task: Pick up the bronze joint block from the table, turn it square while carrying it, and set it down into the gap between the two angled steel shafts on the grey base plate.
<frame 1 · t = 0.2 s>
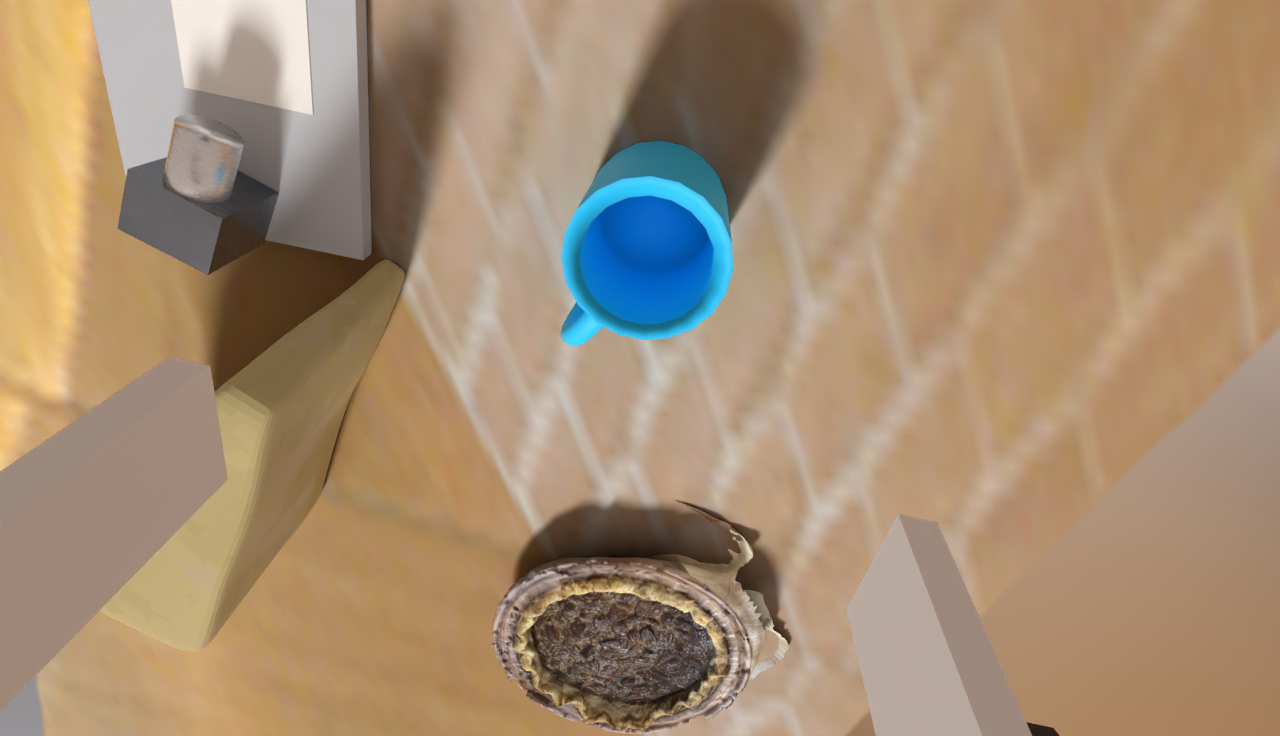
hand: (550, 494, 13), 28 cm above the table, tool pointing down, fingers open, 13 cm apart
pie: (623, 610, 56), on the table
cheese: (325, 372, 46), on the table
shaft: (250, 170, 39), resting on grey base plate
grey base plate: (236, 14, 34), on the table
mug: (637, 236, 39), on the table
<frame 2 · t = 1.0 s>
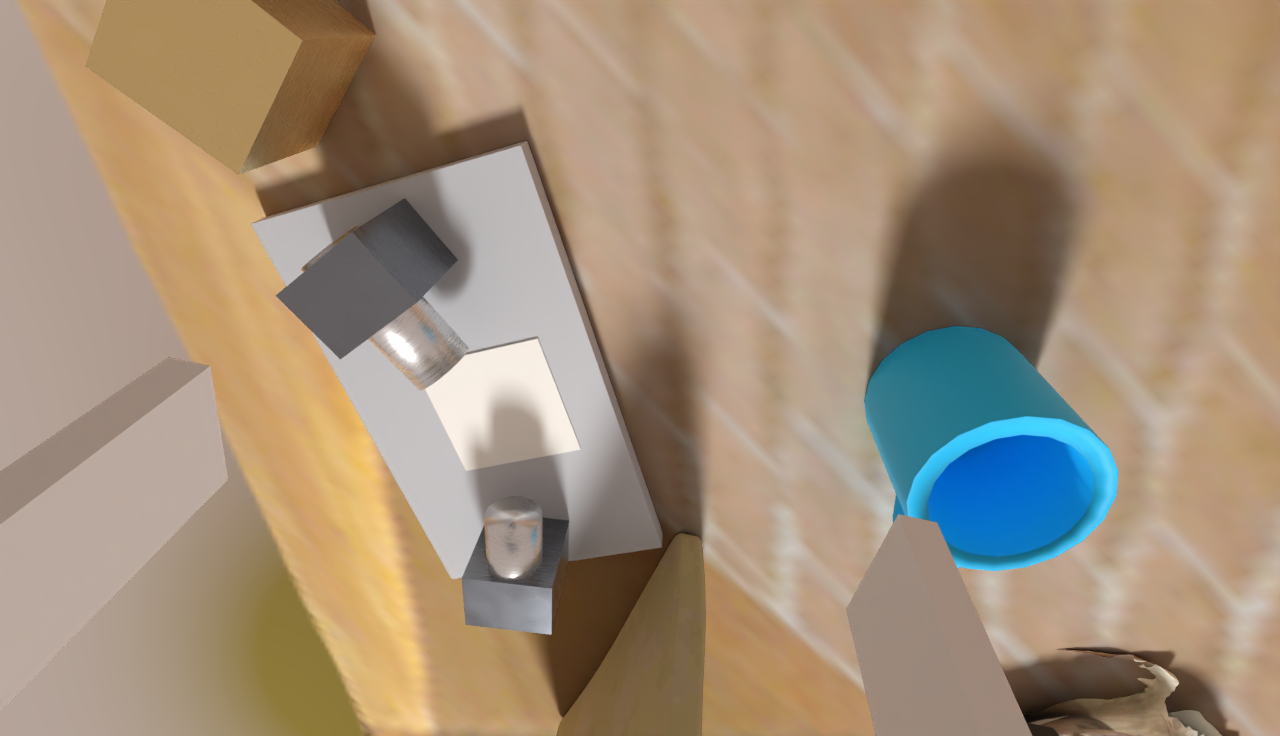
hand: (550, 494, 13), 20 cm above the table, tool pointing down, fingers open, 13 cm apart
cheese: (648, 641, 45), on the table
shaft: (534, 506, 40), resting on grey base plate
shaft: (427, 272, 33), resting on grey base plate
grey base plate: (485, 392, 36), on the table
joint block: (285, 45, 28), on the table
mug: (928, 423, 35), on the table
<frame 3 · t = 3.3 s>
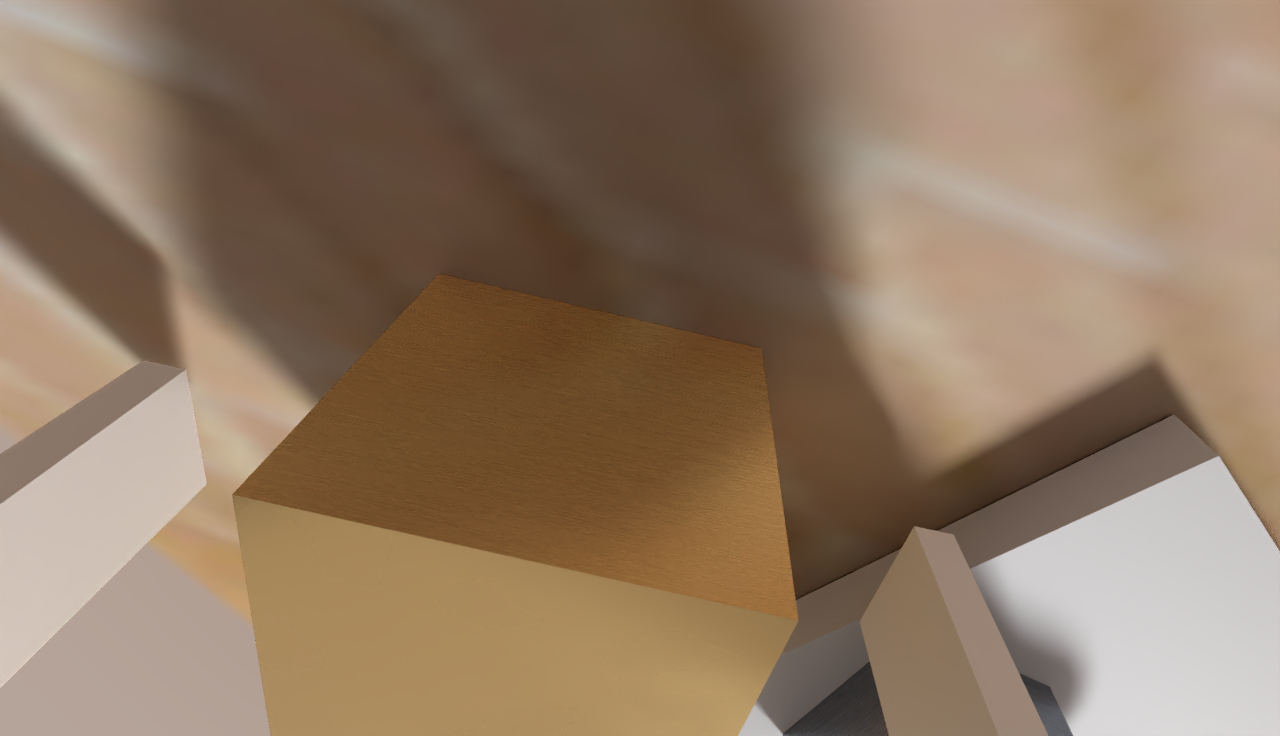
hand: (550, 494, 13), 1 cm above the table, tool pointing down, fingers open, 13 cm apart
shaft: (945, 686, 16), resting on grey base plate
joint block: (576, 437, 13), on the table
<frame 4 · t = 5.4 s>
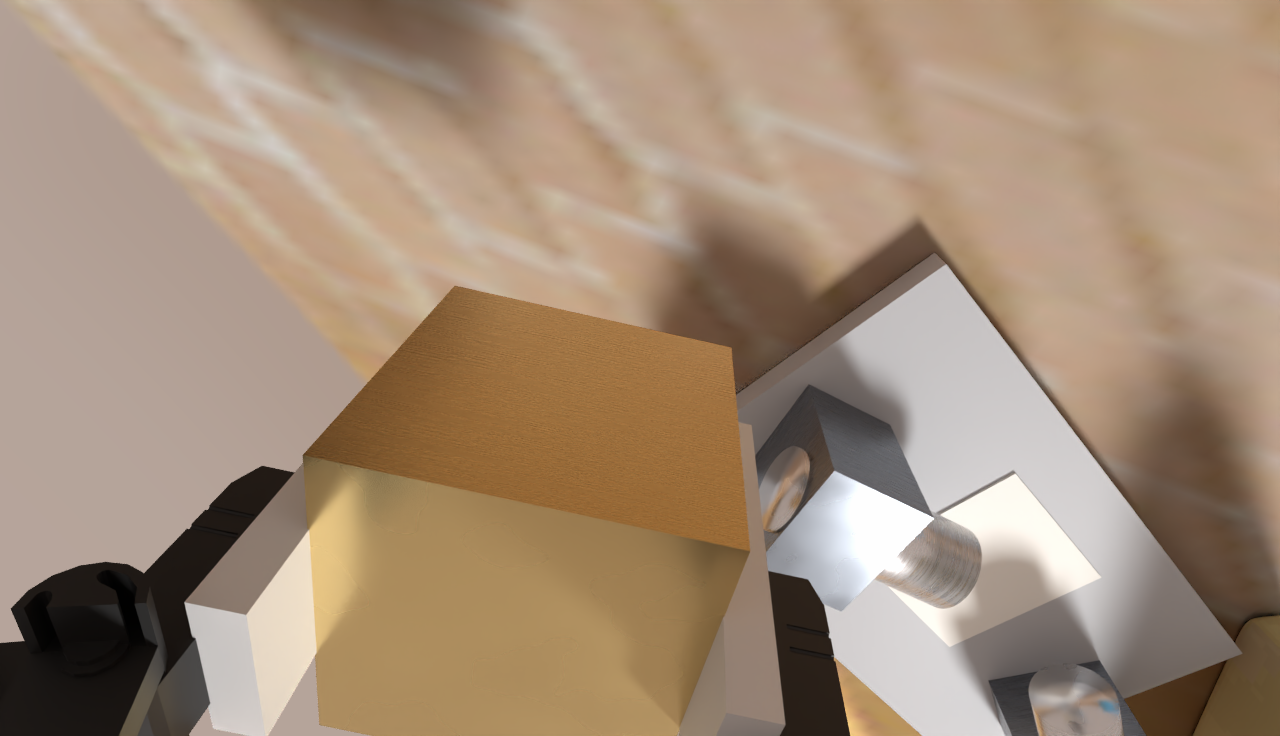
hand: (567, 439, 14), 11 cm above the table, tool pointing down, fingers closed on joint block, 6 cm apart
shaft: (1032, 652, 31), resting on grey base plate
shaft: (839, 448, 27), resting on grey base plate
grey base plate: (941, 549, 29), on the table
joint block: (572, 430, 15), point 10 cm above the table, touching gripper
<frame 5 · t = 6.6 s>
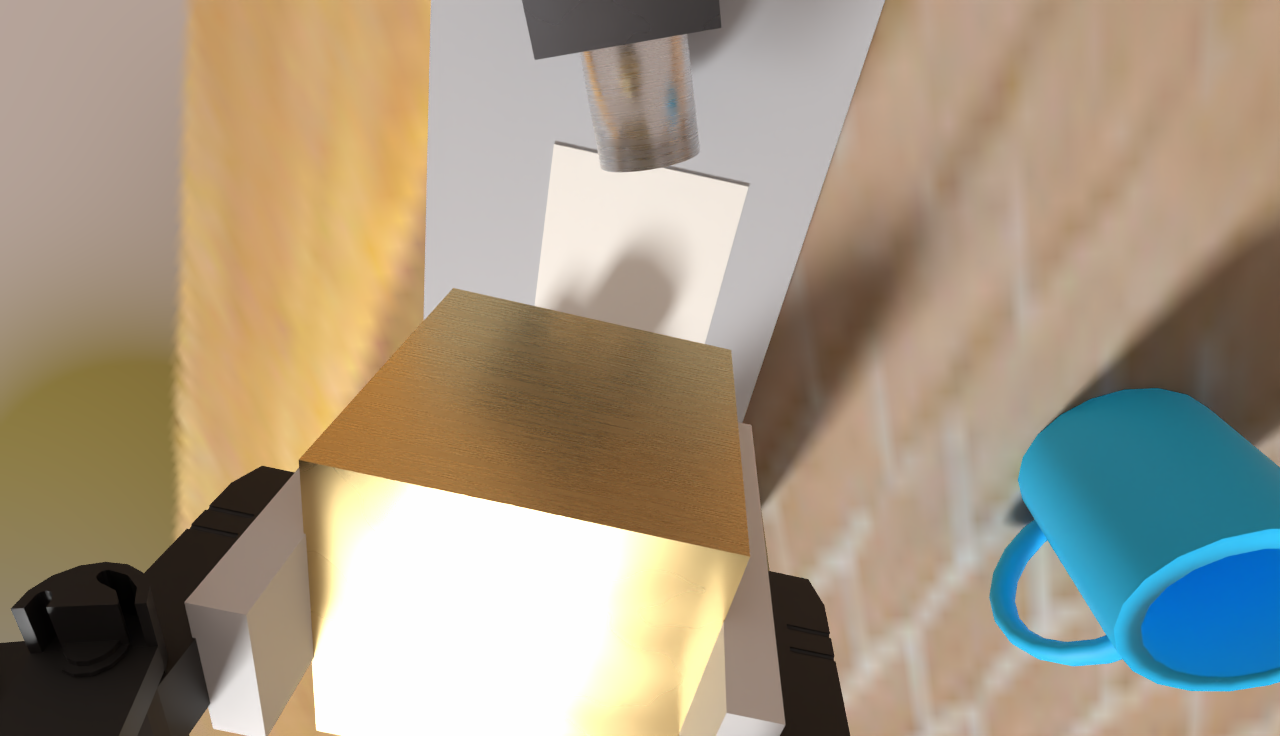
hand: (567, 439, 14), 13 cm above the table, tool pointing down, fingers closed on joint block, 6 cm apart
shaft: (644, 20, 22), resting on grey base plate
grey base plate: (613, 228, 25), on the table
joint block: (571, 433, 15), point 12 cm above the table, touching gripper
mug: (1075, 486, 30), on the table
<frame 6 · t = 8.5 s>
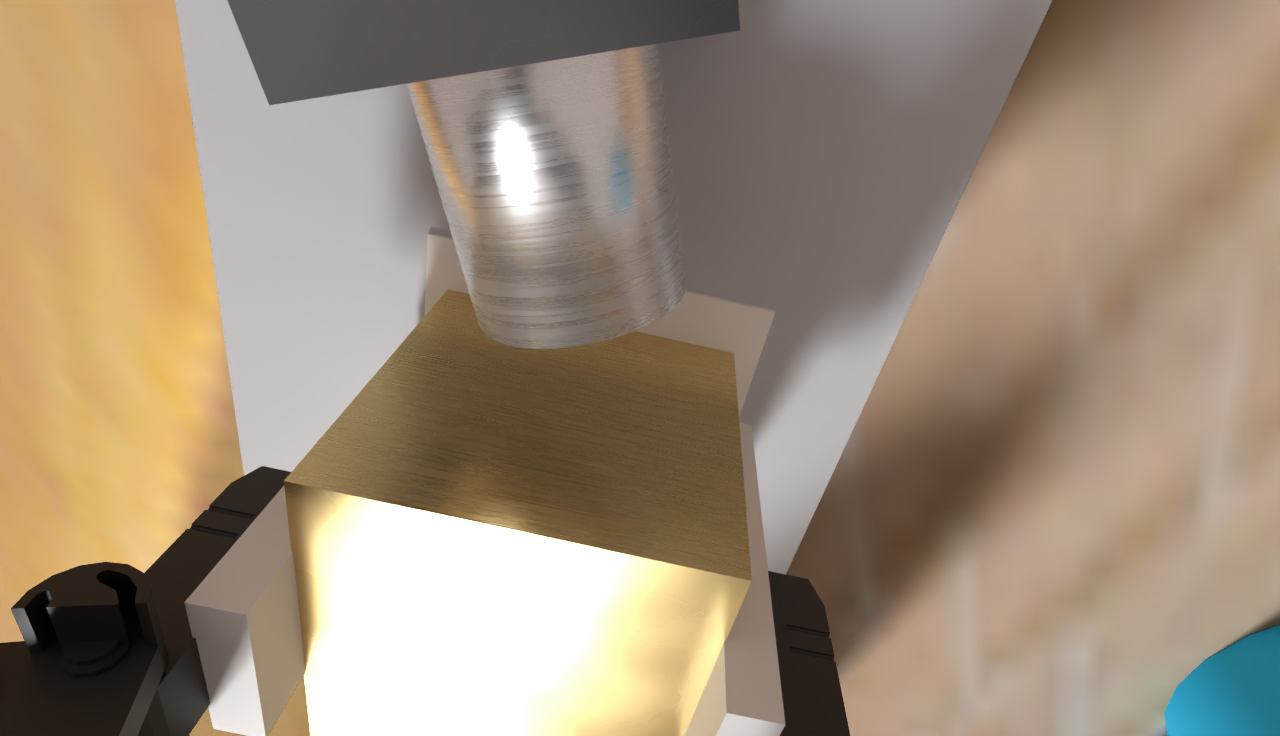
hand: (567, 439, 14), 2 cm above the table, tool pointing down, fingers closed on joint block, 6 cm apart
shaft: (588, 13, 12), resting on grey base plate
grey base plate: (547, 358, 15), on the table
joint block: (570, 436, 15), point 1 cm above the table, touching grey base plate, gripper
mug: (1247, 720, 20), on the table
when the fingers open (2 cm above the table, at t = 8.5 s): joint block stays where it is, resting on grey base plate.
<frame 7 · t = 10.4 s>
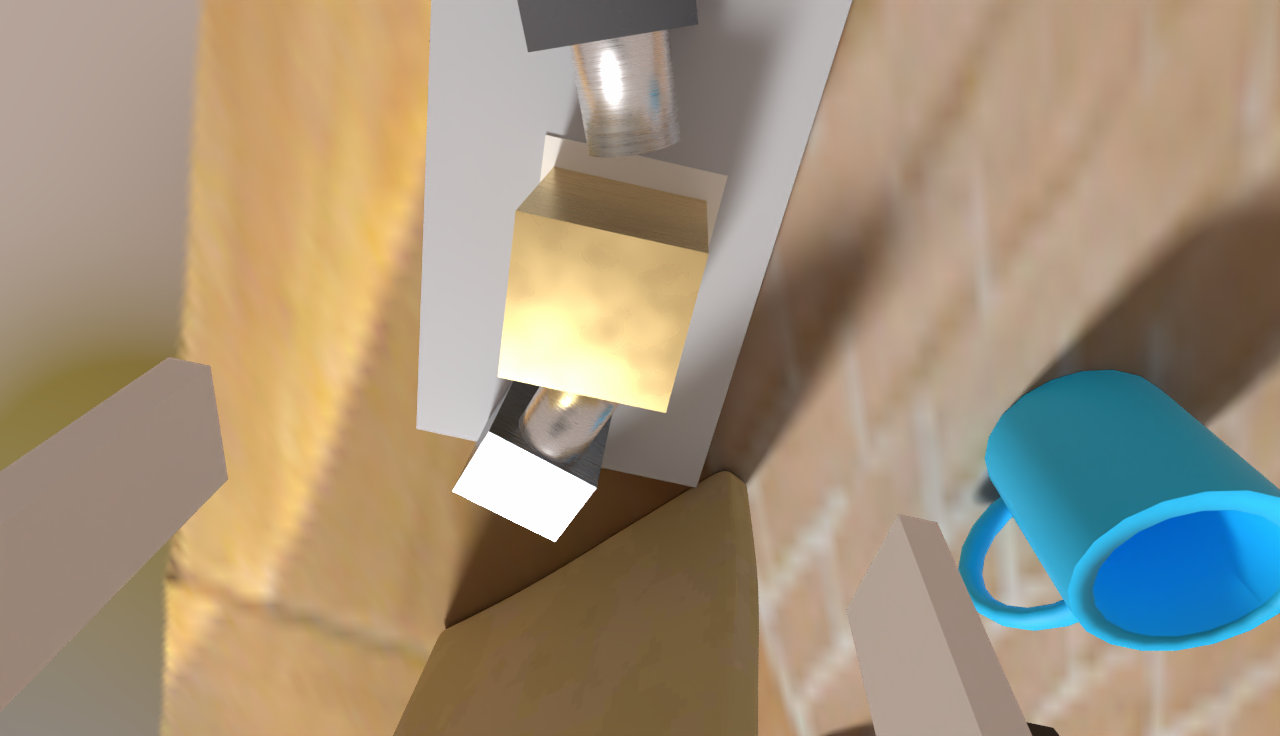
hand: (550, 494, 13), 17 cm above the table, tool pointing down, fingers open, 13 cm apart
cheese: (602, 577, 38), on the table
grey base plate: (601, 216, 27), on the table
joint block: (616, 256, 26), point 1 cm above the table, touching grey base plate
mug: (1038, 465, 32), on the table
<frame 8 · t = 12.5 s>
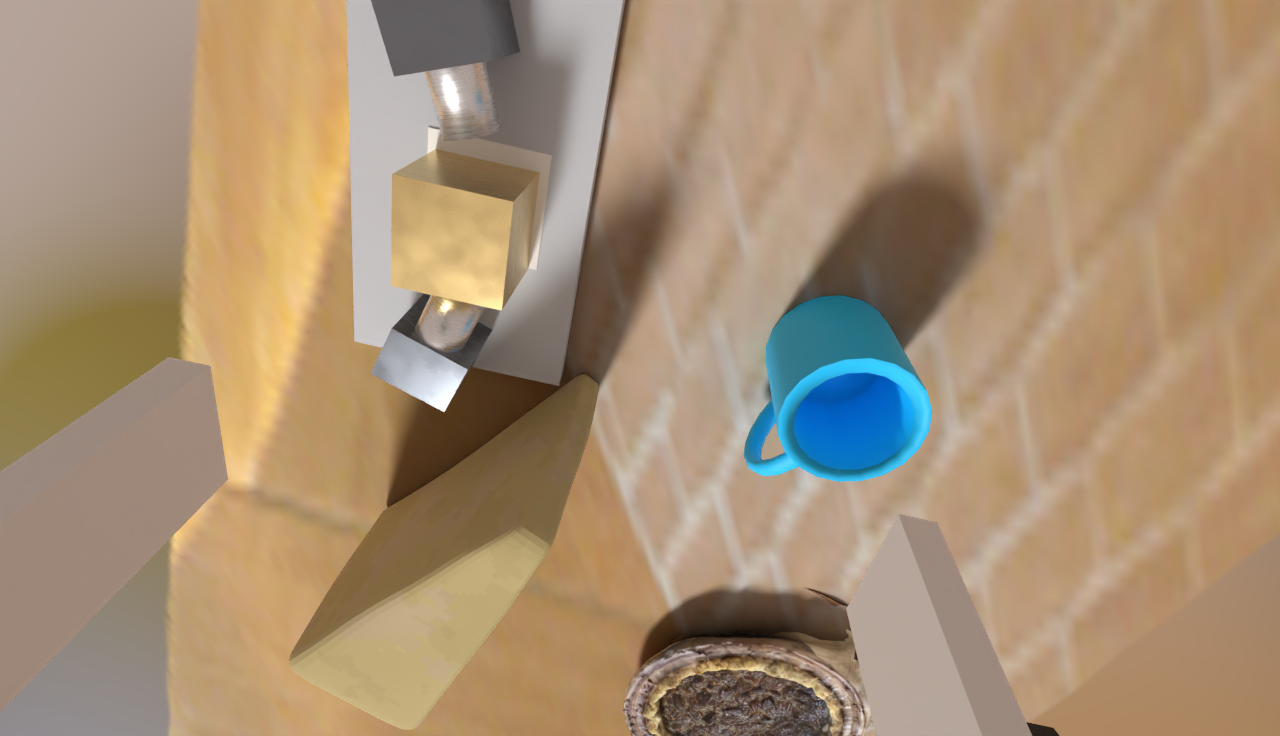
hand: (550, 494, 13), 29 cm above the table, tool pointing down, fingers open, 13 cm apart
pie: (738, 676, 61), on the table
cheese: (504, 463, 50), on the table
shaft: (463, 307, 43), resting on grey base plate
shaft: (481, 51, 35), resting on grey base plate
grey base plate: (475, 184, 39), on the table
joint block: (483, 211, 38), point 1 cm above the table, touching grey base plate
mug: (806, 369, 44), on the table
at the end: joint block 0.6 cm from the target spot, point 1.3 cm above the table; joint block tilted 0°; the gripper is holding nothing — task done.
